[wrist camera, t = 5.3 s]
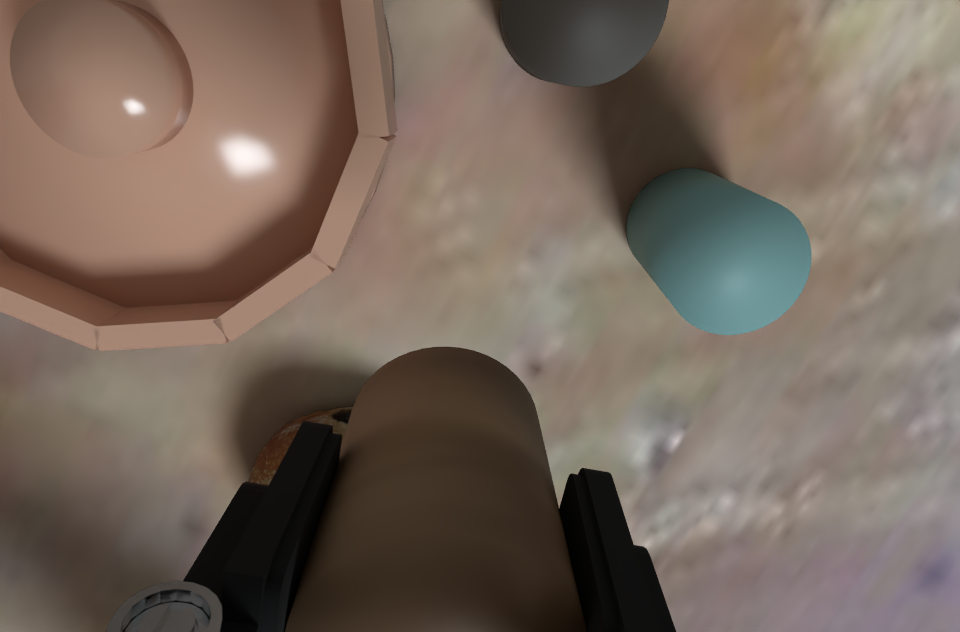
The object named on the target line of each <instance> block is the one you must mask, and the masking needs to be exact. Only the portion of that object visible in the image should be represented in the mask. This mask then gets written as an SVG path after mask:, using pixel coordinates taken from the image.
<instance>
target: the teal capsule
mask: <svg viewBox="0 0 960 632" xmlns="http://www.w3.org/2000/svg"><path fill="white" fill-rule="evenodd" d="M626 232H627V239H628V244H629V246H630V249H631V251H632V253H633V255H634V256H635V258H636V259H637V260H638V262H639V263H640V264H641V265H642V267H643V268H644V269H645V270H646V272H647V273H648V274H649V276H650V277H651V278H652V279H653V281H654V282H655V283H656V285H657V286H658V287H659V288H660V290H661V291H662V292H663V293H664V295H665V296H666V297H667V299H668V300H669V301H670V302H671V304H672V305H673V306H674V308H675V309H676V310H677V311H678V313H679V314H680V315H681V316H682V317H683V318H684V319H685V320H686V321H688V322H689V323H690V324H692V325H693V326H695V327H697V328H699V329H701V330H704V331H706V332H710V333H714V334H721V335H736V334H743V333H747V332H751V331H754V330H757V329H759V328H762V327H764V326H766V325H768V324H770V323H771V322H773V321H774V320H776V319H777V318H779V317H780V316H781V315H782V314H784V313H785V312H786V311H787V310H788V309H789V308H790V307H791V306H792V305H793V303H794V302H795V301H796V300H797V298H798V297H799V295H800V293H801V292H802V290H803V288H804V286H805V284H806V282H807V279H808V275H809V272H810V266H811V246H810V242H809V238H808V235H807V233H806V230H805V228H804V227H803V225H802V224H801V222H800V221H799V219H798V218H797V217H796V216H795V215H794V214H793V213H792V212H790V211H789V210H788V209H787V208H785V207H783V206H782V205H780V204H778V203H776V202H774V201H772V200H769V199H767V198H765V197H763V196H761V195H758V194H756V193H754V192H752V191H750V190H748V189H745V188H743V187H741V186H739V185H737V184H735V183H732V182H730V181H728V180H726V179H724V178H722V177H719V176H717V175H715V174H713V173H710V172H708V171H705V170H701V169H696V168H681V169H676V170H672V171H669V172H666V173H664V174H662V175H660V176H658V177H656V178H655V179H653V180H652V181H651V182H649V183H648V184H647V185H646V186H645V187H644V188H643V189H642V190H641V191H640V193H639V194H638V195H637V197H636V198H635V200H634V202H633V204H632V206H631V208H630V211H629V214H628V218H627V226H626Z"/></svg>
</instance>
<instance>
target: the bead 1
mask: <svg viewBox="0 0 960 632" xmlns="http://www.w3.org/2000/svg"><path fill="white" fill-rule="evenodd" d="M285 632H587V630H586V625H585V621H584V616H583V612H582V607H581V603H580V599H579V594H578V590H577V586H576V581H575V577H574V572H573V568H572V564H571V559H570V555H569V551H568V546H567V542H566V537H565V533H564V529H563V524H562V520H561V516H560V511H559V507H558V502H557V498H556V494H555V489H554V485H553V481H552V476H551V472H550V467H549V463H548V459H547V454H546V450H545V446H544V441H543V437H542V432H541V428H540V424H539V419H538V415H537V411H536V408H535V404H534V402H533V400H532V397H531V395H530V393H529V392H528V390H527V388H526V387H525V385H524V384H523V383H522V382H521V380H520V379H519V378H518V377H517V376H516V375H515V374H514V373H513V372H512V371H511V370H510V369H508V368H507V367H506V366H504V365H503V364H501V363H500V362H498V361H497V360H495V359H493V358H491V357H489V356H487V355H484V354H482V353H479V352H476V351H473V350H468V349H464V348H456V347H432V348H425V349H420V350H416V351H412V352H409V353H407V354H404V355H402V356H399V357H397V358H395V359H394V360H392V361H390V362H388V363H387V364H385V365H384V366H383V367H381V368H380V369H379V370H377V371H376V372H375V373H374V374H373V375H372V376H371V377H370V378H369V379H368V381H367V382H366V383H365V385H364V386H363V387H362V389H361V390H360V392H359V394H358V396H357V398H356V400H355V403H354V405H353V408H352V411H351V415H350V418H349V421H348V425H347V428H346V431H345V434H344V438H343V441H342V444H341V450H340V458H339V463H338V466H337V468H336V471H335V474H334V477H333V480H332V483H331V486H330V489H329V492H328V495H327V498H326V501H325V504H324V507H323V510H322V513H321V516H320V519H319V522H318V525H317V529H316V532H315V535H314V538H313V541H312V544H311V547H310V550H309V554H308V557H307V560H306V563H305V566H304V569H303V572H302V575H301V579H300V582H299V585H298V588H297V592H296V595H295V598H294V602H293V605H292V608H291V611H290V615H289V618H288V621H287V625H286V630H285Z"/></svg>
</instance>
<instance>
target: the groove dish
mask: <svg viewBox="0 0 960 632" xmlns="http://www.w3.org/2000/svg"><path fill="white" fill-rule="evenodd" d="M394 101H395V85H394V66H393V55H392V49H391V43H390V38H389V32H388V26H387V21H386V17H385V14H384V10H383V1H382V0H0V312H2V313H5V314H7V315H10V316H12V317H15V318H17V319H20V320H22V321H24V322H27V323H29V324H32V325H34V326H37V327H39V328H42V329H44V330H47V331H49V332H51V333H54V334H56V335H59V336H61V337H64V338H66V339H69V340H71V341H73V342H76V343H78V344H81V345H83V346H86V347H88V348H91V349H93V350H96V349H97V348H99V350H100V351H109V350H125V349H142V348H158V347H174V346H191V345H207V344H223V343H227V342H228V341H229V340H230V341H233V340H234V339H236V338H237V337H239V336H240V335H242V334H243V333H245V332H246V331H248V330H249V329H250V328H252V327H253V326H255V325H256V324H258V323H259V322H261V321H262V320H264V319H265V318H266V317H268V316H269V315H271V314H272V313H274V312H275V311H277V310H278V309H280V308H281V307H283V306H284V305H285V304H287V303H288V302H290V301H291V300H293V299H294V298H296V297H297V296H299V295H300V294H301V293H303V292H304V291H306V290H307V289H309V288H310V287H312V286H313V285H315V284H316V283H318V282H319V281H320V280H322V279H323V278H325V277H326V276H328V275H329V274H331V273H332V272H333V271H334V270H335V268H336V267H337V266H338V265H339V263H340V262H341V261H342V259H343V258H344V257H345V256H346V254H347V252H348V250H349V248H350V245H351V243H352V241H353V238H354V236H355V234H356V231H357V229H358V226H359V224H360V222H361V220H362V218H363V216H364V214H365V212H366V210H367V208H368V206H369V204H370V202H371V200H372V198H373V196H374V194H375V192H376V189H377V186H378V183H379V180H380V177H381V175H382V172H383V169H384V166H385V163H386V160H387V158H388V155H389V153H390V151H391V148H392V146H393V144H394V141H395V139H396V135H394V134H393V133H395V132H396V131H397V123H396V114H395V106H394Z"/></svg>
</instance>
